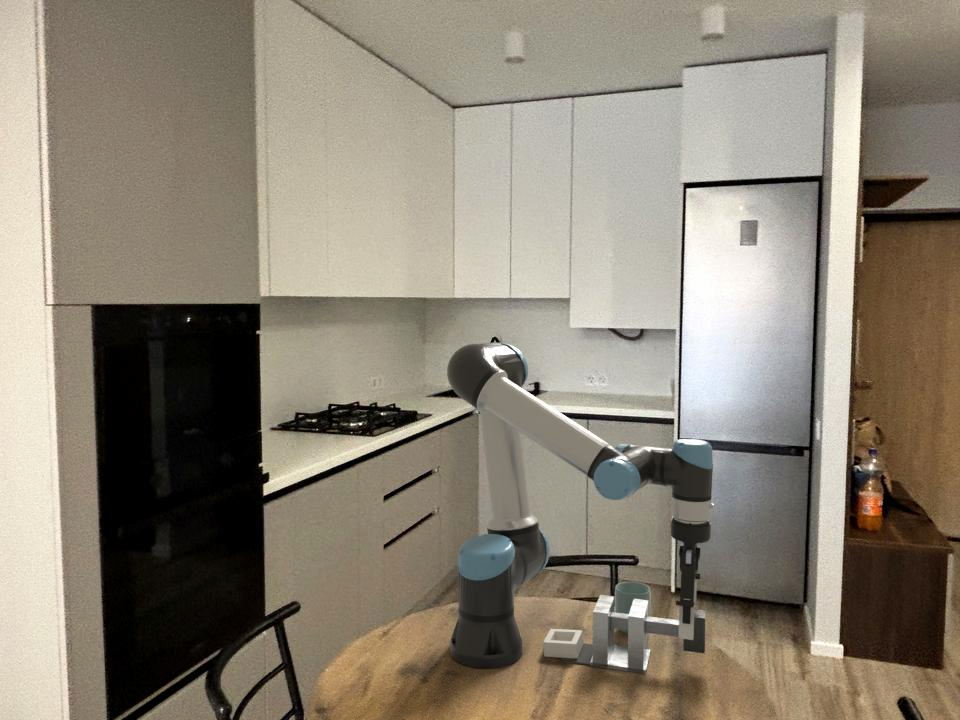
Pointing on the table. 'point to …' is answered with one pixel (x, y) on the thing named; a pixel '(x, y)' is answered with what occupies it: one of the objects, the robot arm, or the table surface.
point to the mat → (582, 655)
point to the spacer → (563, 643)
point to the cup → (630, 597)
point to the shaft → (668, 628)
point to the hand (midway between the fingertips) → (687, 624)
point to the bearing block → (603, 638)
